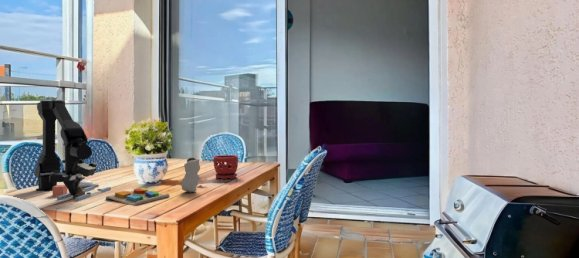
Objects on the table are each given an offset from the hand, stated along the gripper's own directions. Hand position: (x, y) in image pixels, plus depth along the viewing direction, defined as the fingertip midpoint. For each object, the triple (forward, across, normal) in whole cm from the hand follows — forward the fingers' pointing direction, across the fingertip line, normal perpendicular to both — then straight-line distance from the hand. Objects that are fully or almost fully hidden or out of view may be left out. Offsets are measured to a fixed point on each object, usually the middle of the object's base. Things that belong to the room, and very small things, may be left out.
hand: (73, 195), depth 152 cm
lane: (+1, +7, 0) cm, 7 cm away
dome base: (+1, +19, +9) cm, 21 cm away
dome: (+1, +19, +9) cm, 21 cm away
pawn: (+1, +3, 0) cm, 3 cm away
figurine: (+1, +21, -41) cm, 46 cm away
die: (+1, +4, +9) cm, 10 cm away
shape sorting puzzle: (+2, +6, -25) cm, 26 cm away
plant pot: (+1, +58, -46) cm, 73 cm away
